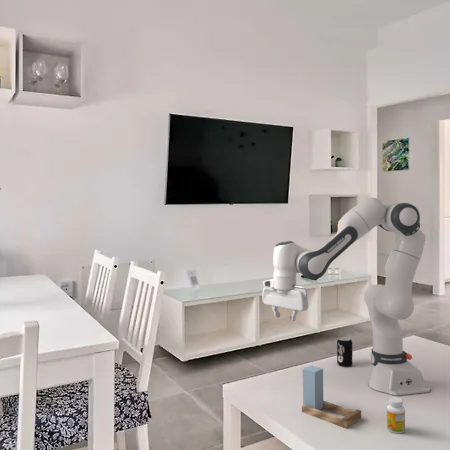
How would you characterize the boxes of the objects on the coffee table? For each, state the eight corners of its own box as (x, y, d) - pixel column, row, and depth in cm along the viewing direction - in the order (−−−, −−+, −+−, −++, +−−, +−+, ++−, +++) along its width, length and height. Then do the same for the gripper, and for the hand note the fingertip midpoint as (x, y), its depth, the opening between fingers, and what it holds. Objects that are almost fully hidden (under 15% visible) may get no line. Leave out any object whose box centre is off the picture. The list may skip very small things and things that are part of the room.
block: (303, 408, 165) (302, 368, 164) (311, 403, 168) (311, 365, 168) (314, 412, 161) (314, 372, 160) (323, 408, 165) (323, 368, 164)
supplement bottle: (384, 426, 151) (384, 396, 151) (400, 425, 152) (400, 395, 151) (391, 434, 146) (391, 403, 145) (408, 433, 146) (408, 402, 146)
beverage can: (352, 367, 205) (352, 340, 204) (337, 367, 206) (337, 340, 206) (351, 362, 211) (351, 336, 211) (336, 362, 213) (336, 335, 212)
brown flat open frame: (301, 411, 163) (301, 403, 162) (317, 403, 169) (317, 395, 169) (346, 428, 150) (346, 419, 150) (361, 419, 156) (361, 410, 156)
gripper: (311, 285, 176) (311, 322, 177) (270, 279, 191) (270, 313, 192) (301, 287, 172) (301, 325, 172) (259, 281, 187) (260, 316, 187)
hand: (284, 318), depth 182 cm, fingers open, 6 cm apart
